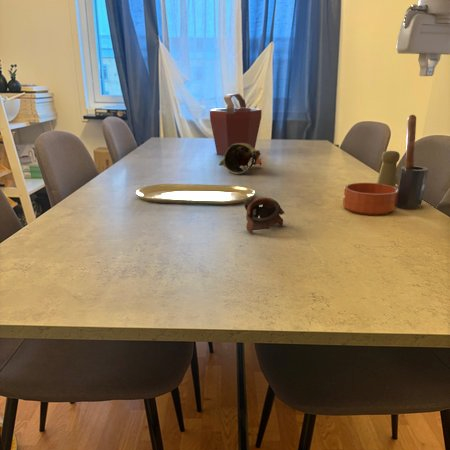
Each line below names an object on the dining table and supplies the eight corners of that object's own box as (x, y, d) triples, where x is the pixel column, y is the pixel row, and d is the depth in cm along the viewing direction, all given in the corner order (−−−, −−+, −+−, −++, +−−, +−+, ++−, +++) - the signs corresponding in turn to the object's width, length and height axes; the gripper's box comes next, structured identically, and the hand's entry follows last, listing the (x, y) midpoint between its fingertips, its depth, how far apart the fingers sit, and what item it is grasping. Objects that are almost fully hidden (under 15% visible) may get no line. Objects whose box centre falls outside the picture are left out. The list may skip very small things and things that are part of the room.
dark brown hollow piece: (294, 230, 101) (292, 204, 94) (265, 254, 99) (261, 230, 92) (259, 207, 107) (254, 181, 100) (231, 229, 105) (224, 205, 98)
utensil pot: (414, 202, 121) (421, 165, 116) (424, 209, 115) (433, 170, 110) (390, 202, 121) (396, 165, 116) (399, 209, 115) (406, 170, 110)
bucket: (240, 159, 184) (240, 94, 172) (198, 155, 195) (196, 94, 183) (267, 151, 202) (269, 92, 191) (227, 148, 213) (227, 92, 201)
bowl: (385, 202, 121) (388, 182, 118) (402, 216, 109) (406, 194, 106) (337, 202, 121) (339, 182, 118) (349, 216, 109) (352, 194, 106)
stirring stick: (410, 200, 118) (414, 114, 109) (413, 202, 116) (417, 114, 107) (402, 201, 118) (406, 115, 109) (405, 203, 116) (409, 115, 107)
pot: (275, 143, 162) (255, 132, 146) (279, 173, 163) (259, 165, 147) (234, 156, 171) (212, 146, 155) (238, 184, 171) (216, 177, 155)
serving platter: (147, 188, 138) (147, 183, 137) (256, 191, 133) (257, 185, 133) (127, 203, 121) (127, 197, 121) (251, 207, 117) (251, 201, 116)
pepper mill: (377, 189, 135) (382, 152, 130) (374, 184, 140) (379, 149, 135) (397, 189, 134) (403, 152, 129) (393, 185, 139) (400, 149, 134)
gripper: (419, 1, 90) (407, 76, 96) (479, 7, 99) (464, 75, 105) (395, 5, 95) (385, 76, 101) (454, 11, 104) (441, 75, 110)
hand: (426, 76), depth 103 cm, fingers closed
